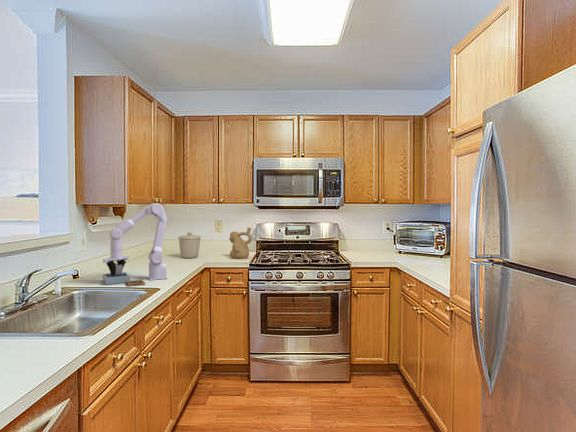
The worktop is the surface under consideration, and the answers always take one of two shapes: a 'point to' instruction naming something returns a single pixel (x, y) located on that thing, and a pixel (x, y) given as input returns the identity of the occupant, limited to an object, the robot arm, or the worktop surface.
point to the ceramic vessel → (240, 244)
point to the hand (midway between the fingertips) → (116, 274)
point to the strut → (117, 270)
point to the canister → (189, 245)
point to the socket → (135, 283)
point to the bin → (115, 279)
